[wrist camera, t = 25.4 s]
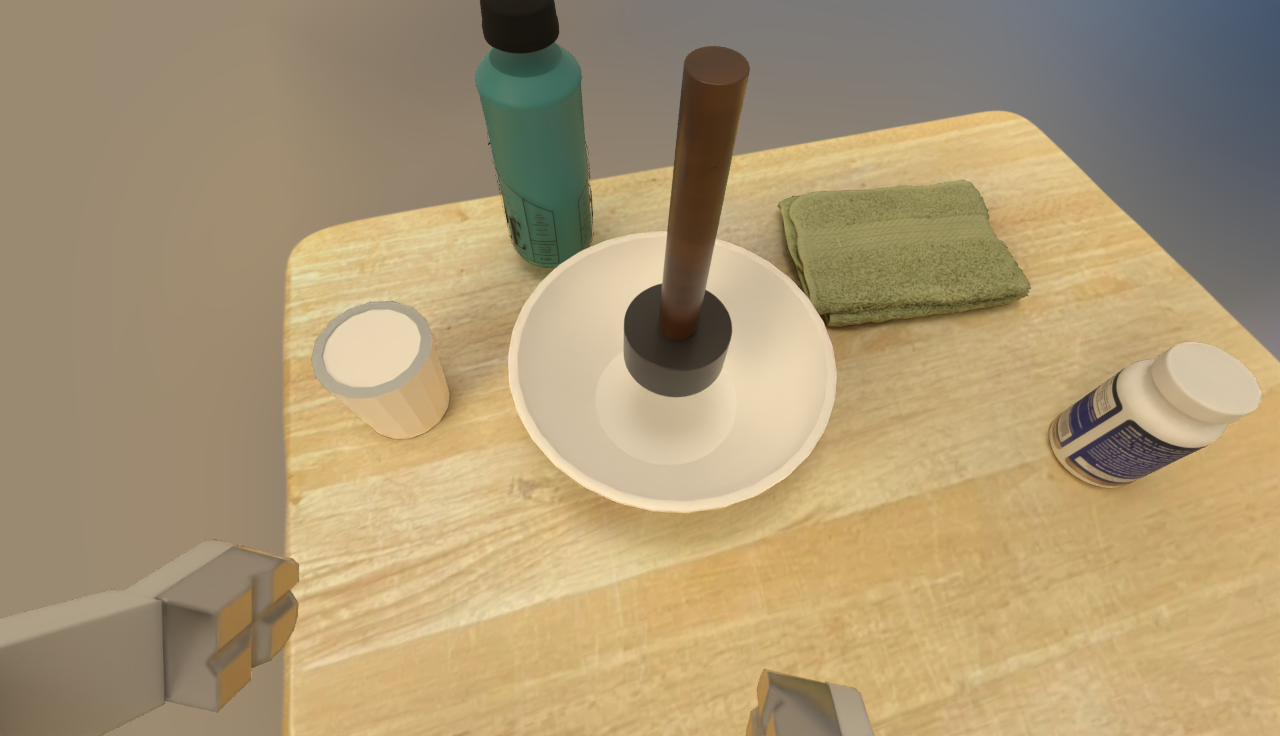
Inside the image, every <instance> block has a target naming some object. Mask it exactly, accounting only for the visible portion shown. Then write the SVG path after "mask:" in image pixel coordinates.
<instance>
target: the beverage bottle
mask: <svg viewBox="0 0 1280 736" xmlns="http://www.w3.org/2000/svg"><path fill="white" fill-rule="evenodd" d="M480 6H481V14H482V28H483V34H484V37H485V40H486V41H487V42H488V44H489V45H491V46H492V47H493V48H492V49H491V50H490V51H489V52H488V53H487V54H486V55H485V56H484V58H483V59H482V60H481V62H480V63H479V65H478V67H477V70H476V74H475V82H476V86H477V89H478V92H479V95H480V99H481V103H482V108H483V111H484V116H485V120H486V125H487V129H488V134H489V138H490V143H491V148H492V153H493V158H494V162H495V166H496V171H497V174H498V179H499V183H500V187H501V192H502V193H501V194H502V196H503V201H504V207H505V213H506V218H507V223H508V222H509V229H510V231H511V234H512V235H511V238H513V239H512V240H513V242H514V245H515V248H516V249H517V250H516V249H515V250H516V251H517V252H518V253H519V254H520V255H521V256H522V257H523V258H524V259H525V260H527V261H528V262H530V263H532V264H534V265H537V266H541V267H548V268H555V267H557V266H558V265H560V264H561V263H563V262H565V261H566V260H568V259H569V258H571V257H572V256H574V255H576V254H577V253H579V252H580V251H582V250H584V249H587V248H588V247H589V245H590V244H591V243H590V241H591V238H592V227H591V226H592V225H593V222H592V225H591V218H592V217H593V210H592V206H591V210H592V214H591V212H590V201H591V204H592V195H591V199H590V197H589V196H590V194H591V191H590V194H589V186H590V185H589V183H588V168H587V154H586V147H585V143H586V142H585V135H584V121H583V108H582V94H581V79H582V77H581V69H580V66H579V64H578V62H577V60H576V59H575V57H574V56H573V55H572V54H571V53H569V52H568V51H566V49H564V48H563V47H561V46H560V45H558V44H557V43H555V40H556V39H557V38H558V35H559V24H558V18H557V15H556V10H555V3H554V0H480ZM490 143H489V144H490ZM489 144H488V145H489ZM589 178H590V177H589ZM590 182H591V181H590ZM590 189H591V188H590ZM501 201H502V200H501ZM502 206H503V205H502ZM503 210H504V209H503ZM505 213H504V214H505ZM591 215H592V217H591ZM592 221H593V219H592ZM507 227H508V226H507ZM508 231H509V230H508ZM509 235H510V234H509ZM593 235H594V234H593ZM511 238H510V239H511ZM592 239H593V238H592ZM512 240H511V241H512ZM591 242H592V241H591ZM512 245H513V244H512ZM513 247H514V246H513Z"/></svg>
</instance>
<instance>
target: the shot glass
mask: <svg viewBox="0 0 1280 736" xmlns="http://www.w3.org/2000/svg"><path fill="white" fill-rule="evenodd" d="M311 361H312V365H313V369H314V374H315V377H316V378H317V379H318V380H319V381H320V382H321V383H322V385H323V386H324V387H325V388H326V389H327V390H328V391H329V392H331V393H332V394H333V395H334V396H335V397H336V398H338V399H339V400H340V401H341V402H342V403H343V404H345V405H346V406H347V407H348V408H349V409H351V410H352V411H353V412H354V413H355V414H356V415H358V416H359V417H360V418H361V419H362V420H363V421H365V422H366V423H367V424H368V425H369V426H370V427H372V428H373V429H374V430H375V431H376V432H378V433H379V434H381V435H384V436H386V437H389V438H392V439H409V438H413V437H416V436H418V435H421V434H423V433H426V432H428V431H429V430H430V429H431V428H433V427H434V426H435V425H436V424H437V423H439V422H440V421H441V419H442V417H443V415H444V414H445V412H446V410H447V409H448V405H449V397H450V392H449V389H448V386H447V382H446V379H445V376H444V373H443V369H442V366H441V363H440V359H439V356H438V353H437V350H436V346H435V343H434V340H433V337H432V334H431V331H430V328H429V326H428V323H427V320H426V319H425V318H424V317H423V316H422V315H421V314H419V313H418V312H417V311H416V310H415V309H414V308H413V307H410V306H406V305H403V304H400V303H397V302H394V301H386V302H369V303H366V304H363V305H360V306H357V307H354V308H351V309H348V310H347V311H345V312H344V313H342V314H341V315H339V316H338V317H337V318H335V319H334V320H332V321H331V322H329V324H328V325H327V326H326V328H325V329H324V330H323V331H322V333H321V334H320V335H319V337H318V338H317V339H316V342H315V346H314V350H313V353H312V357H311Z"/></svg>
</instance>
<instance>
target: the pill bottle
mask: <svg viewBox="0 0 1280 736" xmlns="http://www.w3.org/2000/svg"><path fill="white" fill-rule="evenodd" d="M1260 401H1261V390H1260V387H1259V384H1258V382H1257V380H1256V379H1255V377H1254V376H1253V374H1252V373H1251V372H1250V370H1249V369H1248V368H1247V367H1246V366H1245V365H1244V364H1243V363H1241V362H1240V361H1239V360H1238V359H1236V358H1235V357H1234V356H1232V355H1231V354H1229V353H1227V352H1225V351H1223V350H1221V349H1219V348H1217V347H1215V346H1212V345H1209V344H1205V343H1200V342H1184V343H1180V344H1177V345H1175V346H1173V347H1172V348H1170V349H1169V350H1167V351H1166V352H1164V353H1163V354H1161V355H1159V356H1158V357H1157V358H1156V359H1147V360H1142V361H1138V362H1135V363H1133V364H1131V365H1129V366H1128V367H1126V368H1124V369H1123V370H1121V371H1120V372H1119V373H1117V374H1116V375H1115V376H1113V377H1112V378H1110V379H1109V380H1107V381H1106V382H1105V383H1103V384H1102V385H1100V386H1099V387H1098V388H1096V389H1095V390H1094V391H1092V392H1091V393H1089V394H1088V395H1086V396H1085V397H1084V398H1082V399H1081V400H1079V401H1078V402H1077V403H1075V404H1074V405H1073V406H1071V407H1070V408H1068V409H1067V410H1066V411H1064V412H1063V413H1061V414H1060V415H1059V416H1058V417H1057V418H1056V419H1055V420H1054V422H1053V423H1052V425H1051V428H1050V434H1049V437H1050V443H1051V447H1052V449H1053V452H1054V454H1055V455H1056V457H1057V459H1058V460H1059V461H1060V463H1061V464H1062V465H1063V466H1064V467H1065V468H1066V469H1067V470H1068V471H1069V472H1070V473H1072V474H1073V475H1074V476H1076V477H1077V478H1079V479H1081V480H1083V481H1085V482H1087V483H1089V484H1092V485H1095V486H1099V487H1106V488H1115V487H1121V486H1124V485H1127V484H1129V483H1132V482H1134V481H1136V480H1138V479H1140V478H1142V477H1144V476H1146V475H1148V474H1150V473H1152V472H1154V471H1156V470H1158V469H1160V468H1162V467H1164V466H1166V465H1168V464H1170V463H1172V462H1174V461H1176V460H1178V459H1180V458H1183V457H1185V456H1187V455H1189V454H1191V453H1193V452H1195V451H1197V450H1199V449H1201V448H1204V447H1206V446H1208V445H1209V444H1211V443H1213V442H1214V441H1216V440H1217V439H1218V438H1220V437H1221V435H1222V434H1223V433H1224V431H1225V429H1226V427H1227V424H1229V423H1232V422H1235V421H1236V420H1238V419H1240V418H1242V417H1244V416H1245V415H1247V414H1249V413H1251V412H1252V411H1254V410H1255V409H1256V408H1257V407H1258V406H1259V404H1260Z"/></svg>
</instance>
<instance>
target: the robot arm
mask: <svg viewBox="0 0 1280 736" xmlns="http://www.w3.org/2000/svg"><path fill="white" fill-rule="evenodd" d="M298 582H299V564H298V563H297V562H296V561H295V560H294V559H292V558H288V557H284V556H280V555H276V554H272V553H269V552H264V551H261V550H257V549H253V548H249V547H245V546H239V545H236V544H232V543H228V542H224V541H220V540H216V539H215V540H206V541H204V542H202V543H200V544H199V545H197V546H195V547H194V548H192V549H191V550H189V551H187V552H186V553H184V554H182V555H181V556H179V557H177V558H176V559H174V560H172V561H171V562H169V563H168V564H166V565H164V566H163V567H161V568H159V569H158V570H156V571H154V572H153V573H151V574H150V575H148V576H146V577H145V578H143V579H141V580H140V581H138V582H136V583H135V584H133V585H132V586H130V587H128V588H126V589H125V590H123V591H120V590H116V589H111V590H108V591H104V592H100V593H96V594H92V595H88V596H84V597H80V598H76V599H72V600H69V601H64V602H61V603H57V604H53V605H49V606H45V607H41V608H37V609H34V610H29V611H26V612H22V613H18V614H14V615H10V616H6V617H2V618H0V736H102V735H104V734H106V733H108V732H110V731H112V730H114V729H116V728H118V727H120V726H122V725H124V724H126V723H128V722H130V721H132V720H134V719H136V718H138V717H140V716H142V715H144V714H146V713H148V712H150V711H152V710H154V709H156V708H158V707H160V706H162V705H164V704H165V701H168V702H172V703H176V704H181V705H186V706H190V707H195V708H200V709H204V710H208V711H213V712H219V711H220V710H221V709H222V708H223V707H224V706H225V705H226V704H227V703H228V702H229V701H230V700H231V699H232V698H233V697H234V696H235V695H236V694H237V693H238V692H239V691H240V690H241V689H242V688H243V687H244V686H245V685H246V684H247V683H248V682H249V681H250V680H251V671H252V668H254V667H256V666H258V665H261V664H263V663H266V662H268V661H271V660H272V659H273V658H274V657H275V656H276V655H277V654H278V653H279V652H280V651H281V650H282V649H283V648H284V646H285V644H286V643H287V641H288V639H289V637H290V636H291V634H292V632H293V631H294V627H295V624H296V620H297V617H298V602H297V600H296V599H295V597H294V595H293V594H292V592H291V589H292V588H293V587H294V586H295V585H296V584H297V583H298ZM757 697H758V707H756V708H755V709H753V710H752V711H751V713H750V717H749V721H748V725H747V730H746V736H875V735H874V732H873V729H872V726H871V723H870V720H869V717H868V714H867V711H866V708H865V705H864V702H863V699H862V696H861V693H860V692H859V691H858V690H857V689H856V688H853V687H848V686H843V685H838V684H833V683H829V682H825V683H823V682H819V681H815V680H811V679H806V678H802V677H797V676H793V675H789V674H784V673H780V672H775V671H771V670H767V669H764V670H763V672H762V674H761V676H760V679H759V683H758V686H757Z"/></svg>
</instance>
